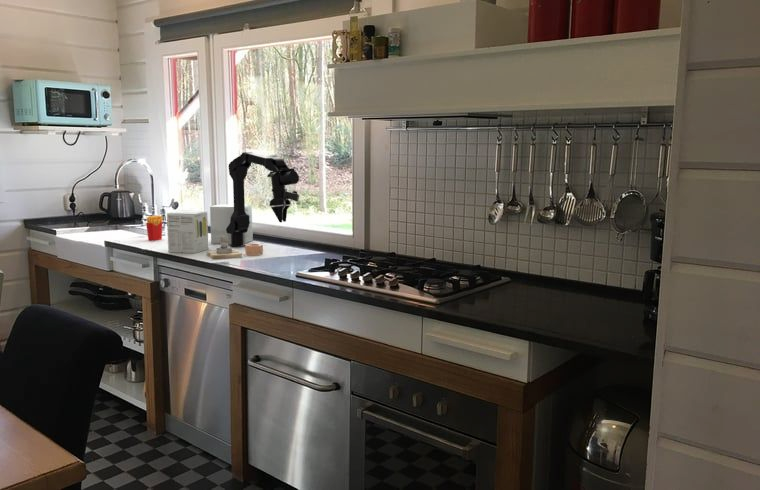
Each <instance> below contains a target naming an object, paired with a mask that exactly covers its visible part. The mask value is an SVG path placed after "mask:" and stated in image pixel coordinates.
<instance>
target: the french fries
mask: <svg viewBox="0 0 760 490" xmlns="http://www.w3.org/2000/svg"><path fill="white" fill-rule="evenodd" d="M163 219H164V217H163V216H161V215H158V214H157V215H151V216H147V217H146V223H145V225H146V232H147V233H146V234H147V239H148V241H151V242H153V241H161V240H162V238H163Z"/></svg>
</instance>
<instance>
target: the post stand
mask: <svg viewBox="0 0 760 490" xmlns="http://www.w3.org/2000/svg"><path fill="white" fill-rule="evenodd" d="M206 256H208V257H209V258H211V259H212V258H213V259H212V260H220V259H222V258H224V259H234V257H238V258H242V257H243V254H242V252H240V251H238V250H236V249H233V247H231V246H228V244H227V236H221V243H220V246H218V247H216V250H208V251H206ZM222 260H223V259H222Z"/></svg>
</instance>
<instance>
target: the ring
mask: <svg viewBox="0 0 760 490" xmlns="http://www.w3.org/2000/svg"><path fill="white" fill-rule="evenodd" d="M244 252H245V255H247V256H261V255H264V254H263V253H264V248H263V244H262V243H246V244H245V246H244Z"/></svg>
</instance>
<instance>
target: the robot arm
mask: <svg viewBox="0 0 760 490" xmlns="http://www.w3.org/2000/svg"><path fill="white" fill-rule="evenodd" d="M252 164H255V165H259V166H263V167H264V169H266V170H268V171H269V173H268V174H267V176H266V177H267V178H270V181H271V182H270V183H271V187H272V188H271V192H272V195H273V196H272V199H270V200H269V206H270V208H271V210H272V212H273V213H274V215H275V217H276V219H277V221H278V222H279V223H283V222H284V223H285V222H287V215H288V209H289V208H290V207H291V205H292V201H294V202H299V198H300V196H301V195H300V194H299V192H298V191H296V190H293V191H288V188H286V186H289V185H290V186H291V185H296V184H297V183H299V180H300V176H299V173H298V172H297V171H296V170H295V168H294V167H293V168H292V167H290V168H289V166H288V164H287V163H286V162H285V159H284V158H282V157H268V156H265V155H262V154H257V153H254V152H252V151H244V152H242V153H241V154H240V155H239V156H237V157H235V158H233V159H232V161H230V162H229V163H228V173H229V174H228V175H229V176H230V178H231V180H232V186H233V187H232V190H233V191H232V192H233V205H234V212H233V214H232V216H231V220H230V224H229V225H228V227H227V228H226V231H227V233H228V234H231V244H228V246H229V247H232V248H237V247H245V245H246V244H244V240H243V233H244V232H247V231H248V227H249V224H250V221H249V218H250V216H249V215H247V214H246V212H245V205H246V202H245V199H246V198H245V179H246V177H247V175H248V171H249V170H248V169H249V168H250V167H252ZM237 230H238V231H237Z"/></svg>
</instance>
